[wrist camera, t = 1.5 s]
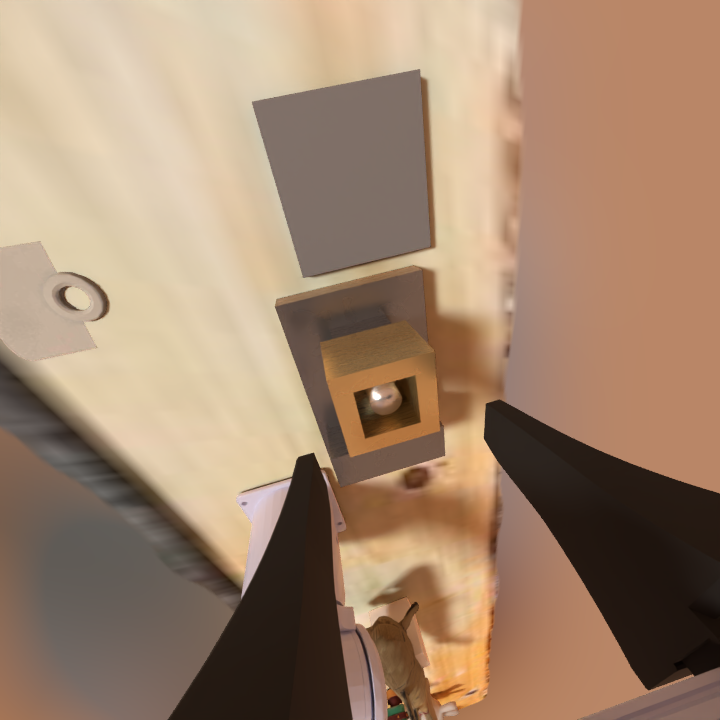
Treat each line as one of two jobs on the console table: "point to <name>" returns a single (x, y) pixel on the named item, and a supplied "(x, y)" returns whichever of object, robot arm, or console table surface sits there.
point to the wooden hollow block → (376, 367)
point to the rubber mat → (350, 170)
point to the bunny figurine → (441, 709)
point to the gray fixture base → (344, 317)
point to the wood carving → (403, 655)
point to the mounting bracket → (43, 305)
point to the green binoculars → (395, 707)
